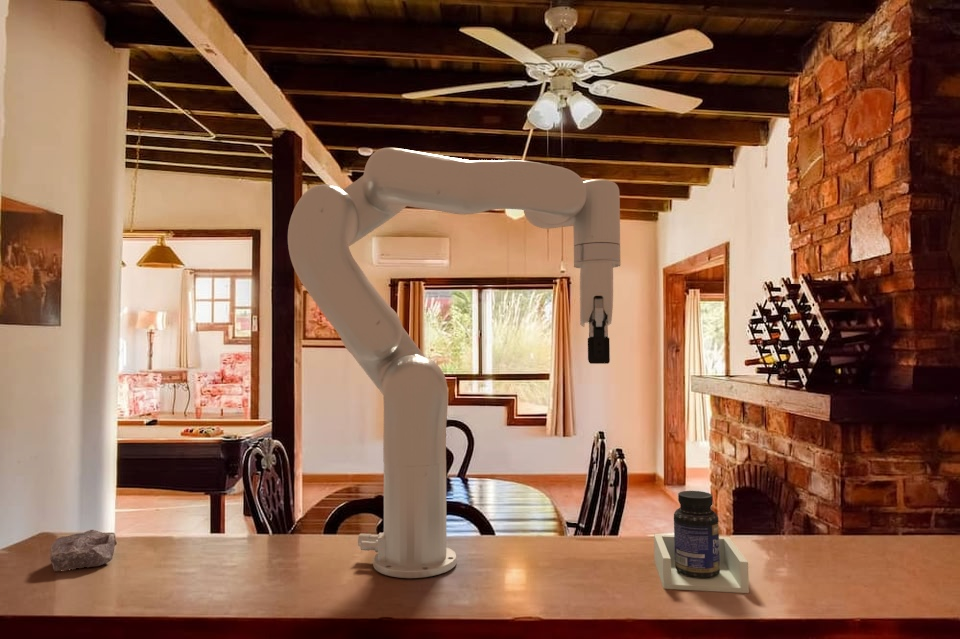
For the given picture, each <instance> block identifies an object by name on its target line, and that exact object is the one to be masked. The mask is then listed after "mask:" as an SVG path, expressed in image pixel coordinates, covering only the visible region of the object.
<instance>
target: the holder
mask: <svg viewBox="0 0 960 639" xmlns="http://www.w3.org/2000/svg"><path fill="white" fill-rule="evenodd" d="M653 545H654V548H653V549H654V550H653V552H654V557H653V558H654V564H655V567H656V569H657V573H658V575H659V579H660V581H661V585H662V588H663V589H664V590H681V591H682V590H683V591H685V590H686V591H700V592H718V593H719V592H721V593H722V592H723V593H737V594H738V593H739V594H749V593H750V591H749V590H750V588H749V587H750V586H749V584H750V582H749V578H750V577H749V561H748V560H747V558H746V557H745V556H744V555H743V553H742V552H741V551H740V549H739V548H738V546H737V545H736V544H735V543H734V542H733V540H732V539H731V537H729V536H719V556H720V573H719V574H718V575H717V576H715V577H712V578H694V577H689V576H686V575H683V574H682V573H680V572H679V571H677V569H676V567H675V540H674V534H656V533H654V535H653Z"/></svg>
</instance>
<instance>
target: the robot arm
mask: <svg viewBox="0 0 960 639" xmlns="http://www.w3.org/2000/svg"><path fill="white" fill-rule="evenodd" d="M364 166H365V167H364V171H363V175H361V176H360V177H359V178H357V180H355V181H353V182H352V183H350V184H349V185H348V186H346V187H345V188H343V189H342V188H340V187H338V186H335V185H332V184H328V183H327V184H317V185H314V186H313V187H311V188H309V189H308V190H307V191H305V192H304V193H303V194H302V195H301V197H300V198H299V200H298V201H297V203H296V205H295V206H294V208H293V211H292V214H291V216H290V219H289V224H288V227H287V228H288V229H287V245H288V246H287V247H288V248H287V249H288V253H289V257H290V261H291V264H292V267H293V269H294V272H295V273H296V275H297V277H298V279H299V281H300V282H301V284H302V286H303V287H304V288H305V290H306V291H307V293H308V294H309V296H310V298H311V299H312V300H313V302H314V303H315V304H316V306H317V307H318V308H319V309H320V311H321V313H322V314H323V315H324V317H325V319H326V320H327V321H328V322H329V323H330V325H331V326H332V328H333V329H334V330H335V332H337V334H338V336H339V337H340V339H341V342H342V344H343V346H344V347H345V349H346V350H347V352H349V354H351V355H352V357H353V359H354V360H356V362H357V363H358V364H359V366H360V367H361V369H362V370H363V371H364V372H365V373H366V375H367V376H368V377H369V379H370V380H371V381H372V383H373V384H374V385H375V387H376V388H377V389H378V390H379V392H380V394H382V396H383V441H382V442H383V443H382V444H383V450H382V452H383V454H382V455H383V532H379V533H378V534H372V533H359V535H358V538H357V546H358V547H360V551H374V552H375V553H376V554H375V555H374V556H373V559H372V560H373V564H372V565H373V568H374V570H375V571H376V572H378V573H380V574H382V575H385V576H386V577H387V576H388V577H393V578H398V579H399V578H400V579H422V578H429V577H433V576H437V575H441V574H442V575H443V574H445V573H446V572H449V571H451V570H452V569H453V568H454V567H455V566H456V565H457V561H458V558H457V552H455V551H454V550H453V549H451V548H449V547H448V546H447V544H448V543H447V421H448V420H447V419H448V407H449V405H448V404H449V390H448V389H449V388H448V383H447V378H446V376H445V374H444V372H443V370H442V369H441V367H440V366H439V364H437V363H436V362H435V361H433V360H432V359H431V358H428V357H426V355H425V354H424V353H423V351H422V350H421V349H420V348H419V347H418V345H417V344H416V342H415V341H414V340H413V339H412V337H411V336H410V335H409V334H408V332H407V331H406V330H405V328H404V327H403V325H402V320H401V319H400V316H399V315H398V313H397V312H396V311H395V310H394V309H393V308H392V307H391V306H390V305H389V304H388V303H387V301H386V300H385V299H384V298H383V296H382V295H381V294H380V293H379V292H378V290H377V289H376V288H375V287H374V285H373V284H372V282H371V281H370V280H369V279H368V277H367V276H366V274H365V272H364V271H363V270H362V268H361V267H360V266H359V264H358V263H357V262H356V260H355V258H354V256H353V255H352V252H351V251H350V250H351V249H350V247H351V246H353V245H354V244H355V243H357V242H359V241H360V240H361V239H363V238H365V237H366V236H368V234H370V233H372V232H374V230H376V229H378V228H379V227H381V226H382V225H384V224H385V223H387V221H389V220H391V219H392V218H394V217H395V216H397V215H398V214H399V213H400V212H401V211H402V210H404V209H405V208H406V207H410V208H414V209H415V208H416V209H417V208H418V209H423V210H424V209H425V210H430V211H436V212H442V213H448V214H454V215H462V216H463V215H464V216H466V215H475V214H479V213H483V212H487V211H493V210H521V211H523V214H524V217H525V218H526V220H527V221H528V222H529V223H530V224H531V225H533V226H535V227H537V228H540V229H549V230H550V229H558V228H567V227H573V228H572V229H573V234H572V235H573V268H576V269H580V273H579V319H580V320H579V322H580V326H581V327H582V328H585V324H588V337H587V360H588V363H589V364H591V365H592V364H593V365H594V364H597V365H598V364H599V365H600V364H604V365H606V364H610V361H611V356H610V355H611V354H610V349H611V348H610V337H609V326H610V325H611V324H612V320H613V310H614V309H613V308H614V307H613V306H614V268H618V267H621V265H622V263H621V262H622V261H621V224H620V223H621V212H620V211H621V210H620V208H621V207H620V206H621V205H620V204H621V203H620V201H621V200H620V199H621V198H620V195H621V194H620V188H619V186H618V184H617V183H616V182H614V181H612V180H608V179H590V180H583V179H582V177H581V176H580V175H579V174H578V173H576V172H575V171H573V170H571V169H569V168H565V167H562V166H558V165H552V164H547V163H543V162H535V161H530V160H518V159H517V160H516V159H515V160H514V159H502V160H501V159H498V160H495V159H494V160H493V159H491V160H487V159H486V160H485V159H484V160H483V159H481V160H480V159H479V160H469V159H462V158H458V157H450V156H444V155H439V154H433V153H428V152H422V151H416V150H410V149H406V148H405V149H404V148H398V147H383V148H379V149H378V150H376V151H374V152H373V153H372V154H371V156H369V158H368V160H367V162H366V164H365V165H364Z"/></svg>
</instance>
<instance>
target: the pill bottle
mask: <svg viewBox="0 0 960 639" xmlns="http://www.w3.org/2000/svg"><path fill="white" fill-rule="evenodd" d="M677 498H678V499H677V500H678V503H679V506H680V507H679V508H677V509H676V510H675V511H674V512H673V533H674V534H673V535H674V540H675V567H676V569H677V571H679V572H680V573H682V574H683V575H686V576H689V577H694V578H712V577H715V576H717V575H718V574H719V573H720V556H719V537H720V536H719V535H720V533H719V532H720V531H719V526H720V525H719V516H718V514H717V512H715V510H713V509H712V506H713V503H714V501H713V494H712V493H709V492H707V491H703V490H702V491H701V490H684V491H679V492H678V493H677Z"/></svg>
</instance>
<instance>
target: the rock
mask: <svg viewBox="0 0 960 639" xmlns="http://www.w3.org/2000/svg"><path fill="white" fill-rule="evenodd" d="M117 545H118V543H117V539H116V533H115V532H102V531H98V530H95V529H89V530H86V531H85V532H80V533H73V534H70V535H65V536H60V537H58V538H56V539H55V540H54V542H53V543H52V544H51V546H50V550H49V551H50V562H51V565H52V569H53V571H54V572H55V571H61V570H69V569H72V570H77V569H76V568H79V569H83V568H84V567H87V568H91V567H100V566H102V565H104V564H107V563H110V562H111V561H112V560H113V556H114V552H115V547H116V546H117ZM69 571H70V570H69Z"/></svg>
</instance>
